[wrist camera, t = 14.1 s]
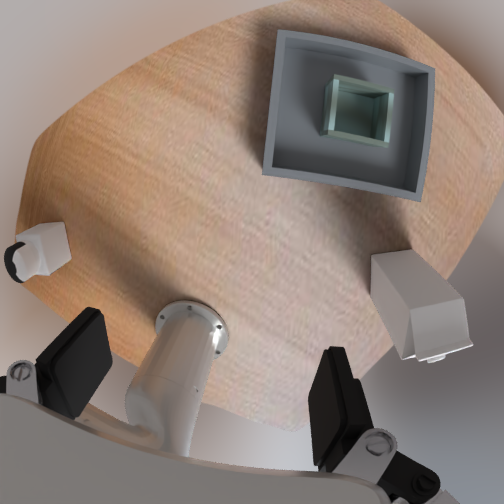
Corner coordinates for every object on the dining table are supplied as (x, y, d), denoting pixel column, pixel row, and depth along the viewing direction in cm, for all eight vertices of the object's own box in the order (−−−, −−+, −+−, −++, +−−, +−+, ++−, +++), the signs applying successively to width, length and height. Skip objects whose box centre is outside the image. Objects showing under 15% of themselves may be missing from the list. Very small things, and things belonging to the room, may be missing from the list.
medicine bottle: (48, 258, 45) (7, 286, 34) (40, 223, 42) (-5, 245, 31) (73, 259, 44) (31, 290, 33) (64, 221, 41) (18, 245, 30)
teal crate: (371, 146, 33) (388, 147, 27) (319, 136, 33) (327, 134, 28) (377, 96, 30) (394, 89, 25) (325, 84, 31) (334, 74, 25)
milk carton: (370, 254, 39) (425, 332, 22) (412, 248, 38) (481, 317, 21) (369, 296, 42) (411, 384, 24) (409, 289, 41) (464, 368, 23)
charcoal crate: (404, 194, 36) (420, 202, 31) (263, 170, 36) (261, 174, 32) (418, 75, 29) (435, 68, 24) (277, 42, 30) (277, 29, 25)
